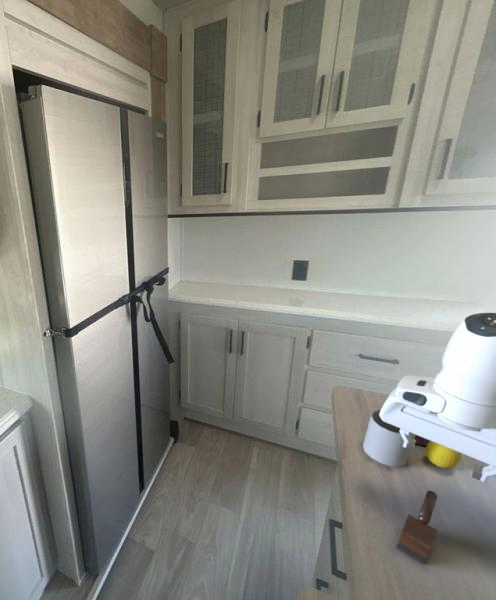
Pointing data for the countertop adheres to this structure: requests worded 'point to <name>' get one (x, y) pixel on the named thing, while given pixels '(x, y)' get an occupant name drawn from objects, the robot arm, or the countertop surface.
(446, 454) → the lemon
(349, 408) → the countertop surface
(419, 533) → the brush
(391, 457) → the cup
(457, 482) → the countertop surface
